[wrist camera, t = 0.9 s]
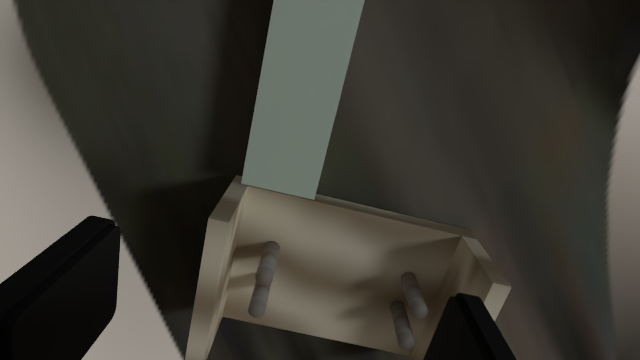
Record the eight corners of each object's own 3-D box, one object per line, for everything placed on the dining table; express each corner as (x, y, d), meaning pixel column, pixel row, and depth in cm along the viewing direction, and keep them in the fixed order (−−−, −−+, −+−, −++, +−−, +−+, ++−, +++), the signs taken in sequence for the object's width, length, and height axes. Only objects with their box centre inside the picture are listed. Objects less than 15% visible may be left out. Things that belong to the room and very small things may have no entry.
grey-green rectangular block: (289, -38, 25) (282, -51, 21) (364, -18, 25) (371, -27, 22) (252, 164, 30) (241, 183, 26) (315, 179, 30) (314, 199, 26)
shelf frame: (236, 174, 30) (208, 218, 23) (469, 230, 31) (511, 287, 24) (212, 301, 34) (183, 371, 27) (420, 345, 35) (443, 423, 28)
